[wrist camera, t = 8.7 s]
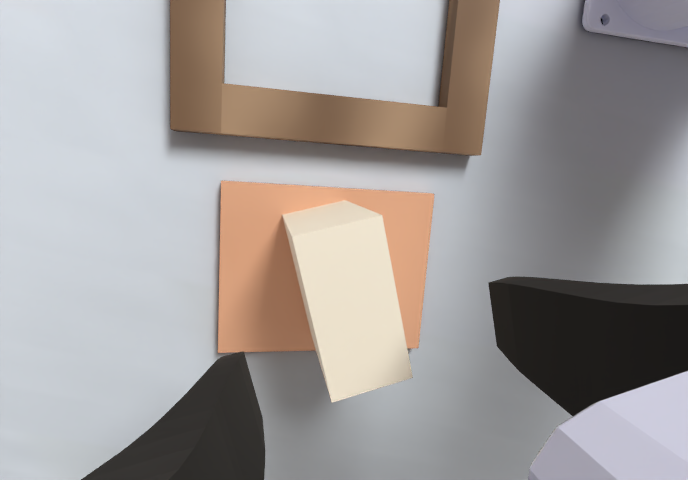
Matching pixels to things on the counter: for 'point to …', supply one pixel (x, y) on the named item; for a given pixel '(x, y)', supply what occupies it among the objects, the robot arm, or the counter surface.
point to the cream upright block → (349, 296)
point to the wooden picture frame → (328, 110)
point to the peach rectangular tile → (278, 267)
